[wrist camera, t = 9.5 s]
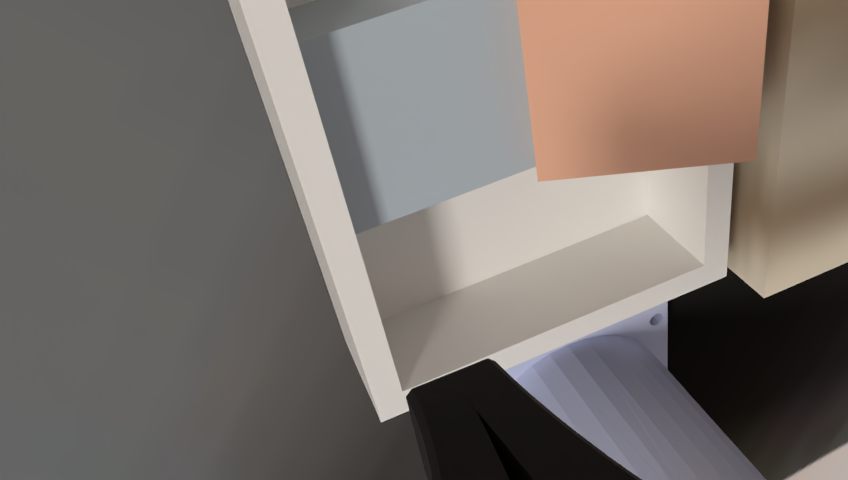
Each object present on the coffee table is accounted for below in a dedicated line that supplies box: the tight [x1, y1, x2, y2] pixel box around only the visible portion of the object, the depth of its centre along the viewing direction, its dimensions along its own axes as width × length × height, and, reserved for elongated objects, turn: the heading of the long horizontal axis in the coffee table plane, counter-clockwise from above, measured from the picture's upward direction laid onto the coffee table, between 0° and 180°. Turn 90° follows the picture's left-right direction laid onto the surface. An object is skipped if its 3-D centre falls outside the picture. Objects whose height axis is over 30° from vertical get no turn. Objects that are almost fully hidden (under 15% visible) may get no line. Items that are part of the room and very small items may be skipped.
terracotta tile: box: [516, 0, 769, 182], centre depth 18 cm, size 5×5×2 cm
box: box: [228, 0, 734, 422], centre depth 19 cm, size 16×11×4 cm
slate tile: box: [288, 0, 536, 235], centre depth 19 cm, size 5×5×2 cm
